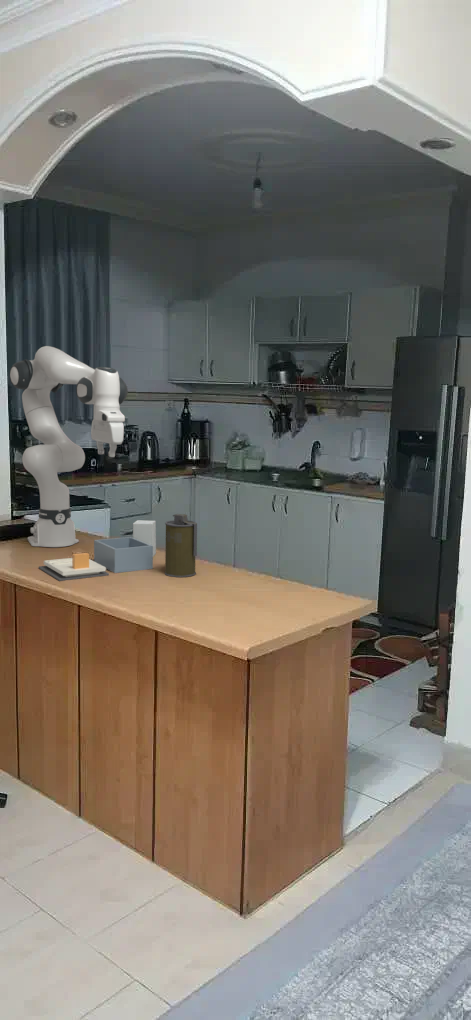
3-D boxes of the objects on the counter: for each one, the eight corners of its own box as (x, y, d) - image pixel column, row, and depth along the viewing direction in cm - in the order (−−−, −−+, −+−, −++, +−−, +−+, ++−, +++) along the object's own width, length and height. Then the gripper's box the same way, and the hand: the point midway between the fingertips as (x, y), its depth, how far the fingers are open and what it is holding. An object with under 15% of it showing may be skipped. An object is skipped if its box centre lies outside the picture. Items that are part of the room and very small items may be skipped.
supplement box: (156, 553, 295) (156, 520, 293) (152, 557, 288) (152, 523, 286) (136, 552, 296) (137, 519, 294) (132, 557, 289) (132, 522, 287)
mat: (38, 568, 268) (38, 566, 268) (86, 563, 277) (86, 561, 277) (59, 580, 251) (58, 579, 251) (108, 575, 260) (108, 573, 260)
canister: (158, 574, 262) (159, 515, 259) (175, 568, 271) (175, 511, 268) (186, 579, 257) (187, 518, 254) (202, 572, 266) (203, 514, 263)
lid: (43, 567, 267) (43, 547, 266) (84, 562, 275) (84, 543, 274) (62, 578, 251) (62, 558, 250) (105, 573, 259) (105, 553, 258)
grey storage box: (94, 562, 278) (94, 540, 277) (130, 558, 286) (130, 536, 284) (114, 573, 263) (114, 549, 262) (152, 568, 271) (152, 545, 269)
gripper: (86, 413, 278) (86, 452, 280) (109, 416, 261) (109, 458, 263) (103, 413, 281) (103, 452, 283) (127, 417, 264) (126, 458, 266)
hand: (106, 455), depth 273 cm, fingers open, 8 cm apart
